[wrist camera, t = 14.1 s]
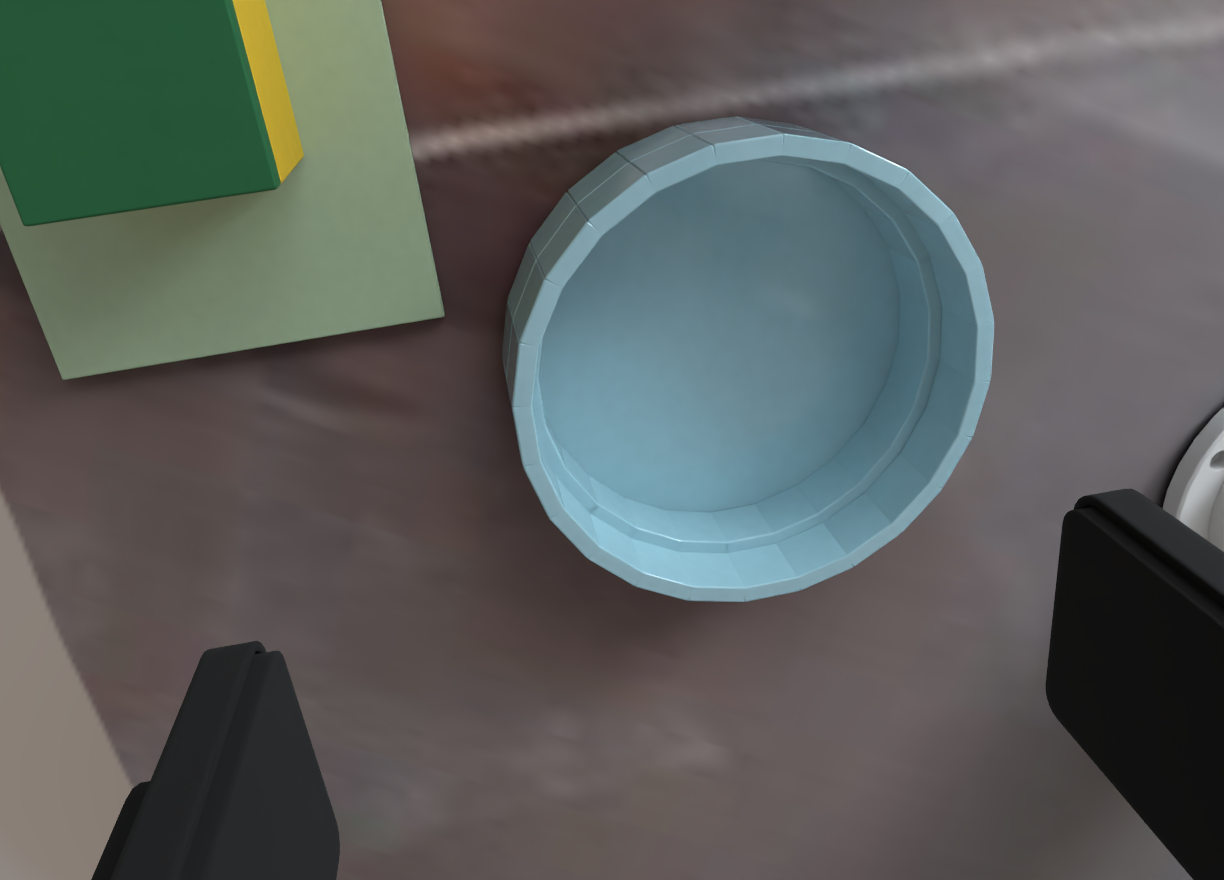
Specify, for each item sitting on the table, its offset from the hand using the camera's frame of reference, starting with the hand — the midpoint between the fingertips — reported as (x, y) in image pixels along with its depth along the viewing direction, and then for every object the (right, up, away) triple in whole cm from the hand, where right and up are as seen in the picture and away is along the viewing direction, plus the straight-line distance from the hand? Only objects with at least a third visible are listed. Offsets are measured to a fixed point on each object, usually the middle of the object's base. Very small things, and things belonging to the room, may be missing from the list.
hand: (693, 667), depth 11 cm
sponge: (-14, +15, +15) cm, 25 cm away
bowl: (+3, +6, +22) cm, 23 cm away
